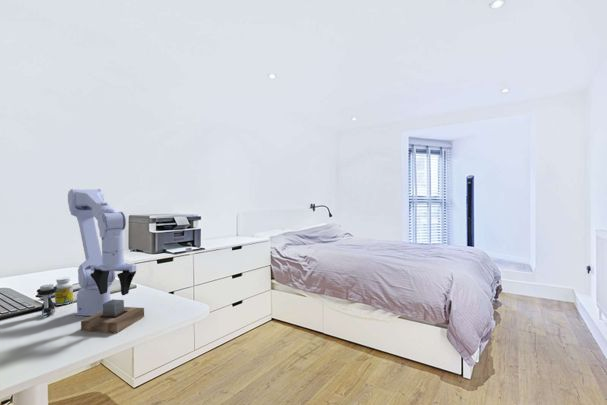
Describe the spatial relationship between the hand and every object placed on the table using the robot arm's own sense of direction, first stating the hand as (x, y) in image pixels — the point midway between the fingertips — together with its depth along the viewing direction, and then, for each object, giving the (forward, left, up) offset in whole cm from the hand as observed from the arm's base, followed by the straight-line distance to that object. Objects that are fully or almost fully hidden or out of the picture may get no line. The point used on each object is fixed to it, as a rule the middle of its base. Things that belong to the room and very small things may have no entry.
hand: (114, 293), depth 97 cm
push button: (-28, +3, -10) cm, 30 cm away
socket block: (0, 0, -9) cm, 9 cm away
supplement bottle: (-33, +14, -10) cm, 37 cm away
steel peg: (0, 0, -10) cm, 10 cm away
